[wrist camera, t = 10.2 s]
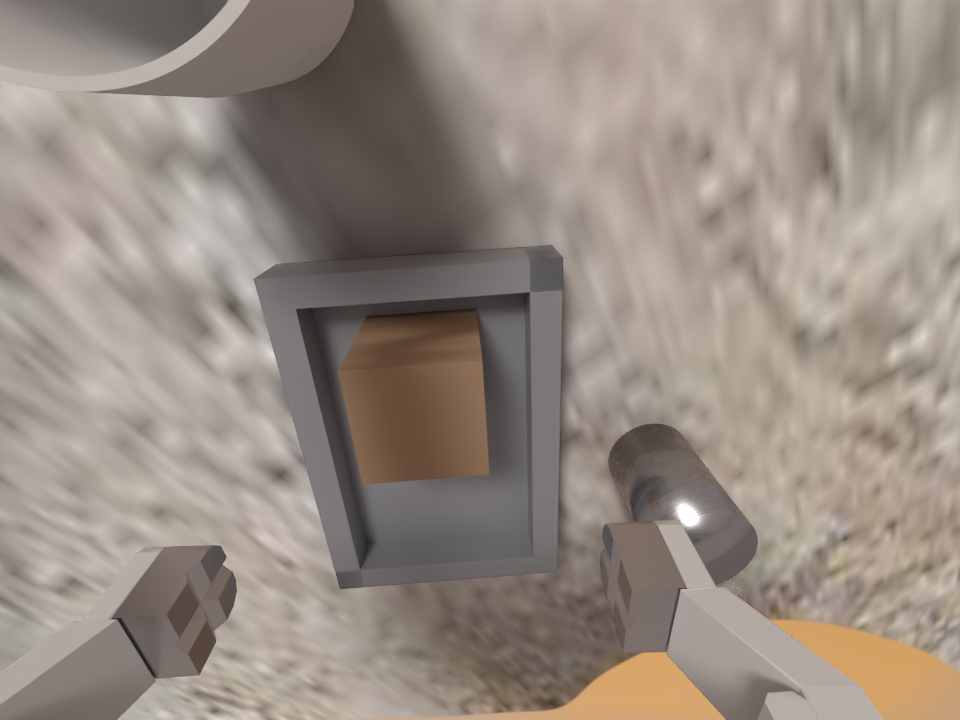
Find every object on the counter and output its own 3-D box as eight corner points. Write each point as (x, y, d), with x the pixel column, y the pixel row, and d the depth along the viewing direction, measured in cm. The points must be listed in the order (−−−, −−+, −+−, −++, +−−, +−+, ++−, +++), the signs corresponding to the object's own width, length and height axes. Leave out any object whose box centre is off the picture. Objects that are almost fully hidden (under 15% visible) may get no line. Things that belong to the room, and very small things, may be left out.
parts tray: (551, 245, 18) (563, 257, 16) (549, 537, 25) (557, 571, 23) (276, 264, 18) (253, 279, 16) (349, 553, 25) (340, 589, 23)
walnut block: (476, 308, 19) (482, 360, 14) (482, 402, 21) (489, 474, 16) (366, 316, 19) (337, 370, 14) (383, 410, 21) (362, 484, 16)
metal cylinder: (692, 420, 22) (767, 509, 17) (681, 484, 24) (746, 584, 19) (611, 426, 22) (660, 518, 17) (606, 490, 24) (649, 592, 19)
